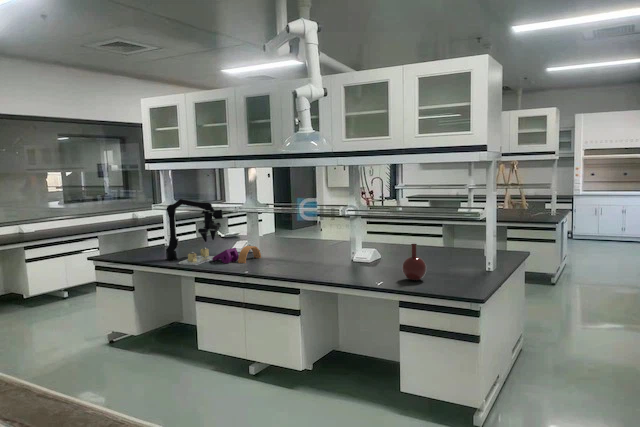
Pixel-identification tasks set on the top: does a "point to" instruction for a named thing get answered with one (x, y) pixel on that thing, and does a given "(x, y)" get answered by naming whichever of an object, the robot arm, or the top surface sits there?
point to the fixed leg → (192, 256)
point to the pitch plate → (199, 260)
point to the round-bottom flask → (414, 266)
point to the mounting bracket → (227, 256)
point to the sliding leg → (204, 252)
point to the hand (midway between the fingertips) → (209, 240)
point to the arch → (245, 251)
